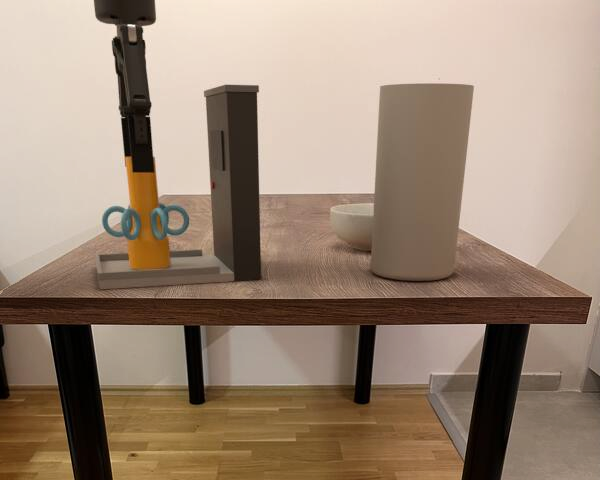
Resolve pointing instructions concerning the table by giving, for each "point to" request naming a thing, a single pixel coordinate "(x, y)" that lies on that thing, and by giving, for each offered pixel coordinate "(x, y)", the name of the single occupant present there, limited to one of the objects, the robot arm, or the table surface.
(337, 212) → the cereal bowl
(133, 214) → the cylinder
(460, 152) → the cylinder vase
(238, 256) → the grey l-shaped stand
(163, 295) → the table surface
